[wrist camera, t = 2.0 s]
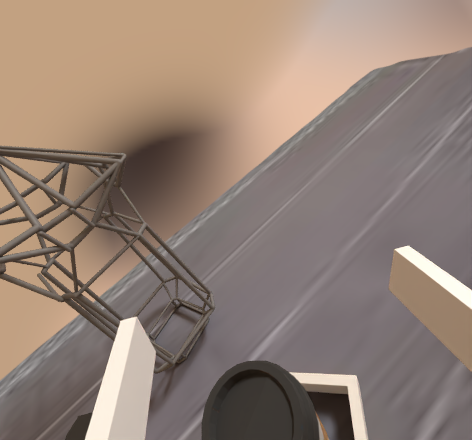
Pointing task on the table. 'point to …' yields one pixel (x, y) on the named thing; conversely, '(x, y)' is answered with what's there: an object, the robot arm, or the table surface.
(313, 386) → the gap frame
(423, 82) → the table surface
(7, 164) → the geometric lantern
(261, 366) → the coffee cup
